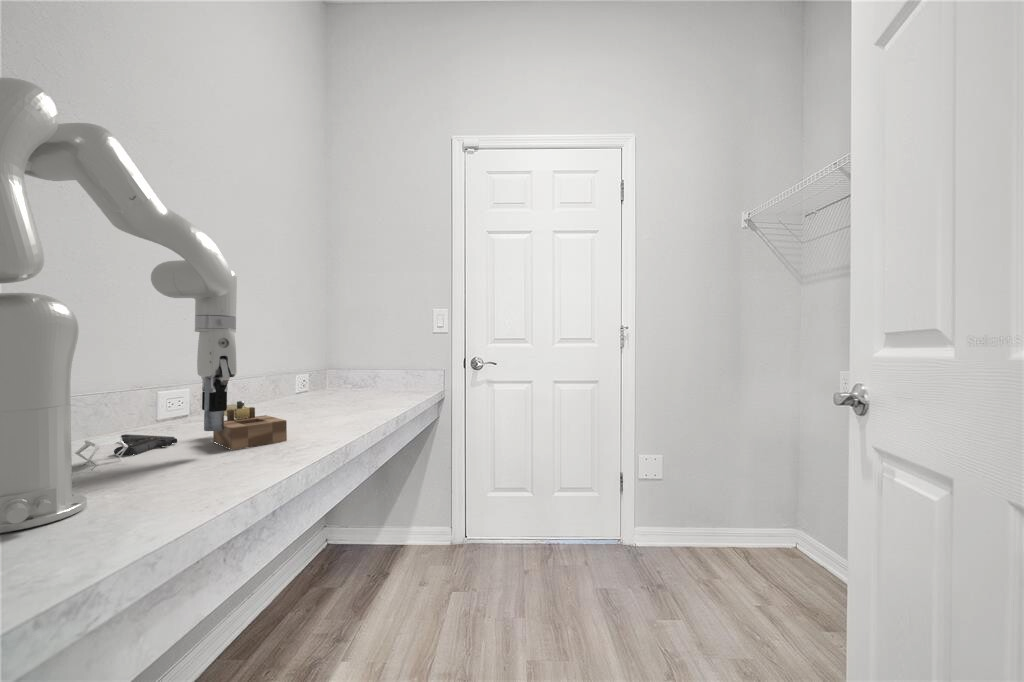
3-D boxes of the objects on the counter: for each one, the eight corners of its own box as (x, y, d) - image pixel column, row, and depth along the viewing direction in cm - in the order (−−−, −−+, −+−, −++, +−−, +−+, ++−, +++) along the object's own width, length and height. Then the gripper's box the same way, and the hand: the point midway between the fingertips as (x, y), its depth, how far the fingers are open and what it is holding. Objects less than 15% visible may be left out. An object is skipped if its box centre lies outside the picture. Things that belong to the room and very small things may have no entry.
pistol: (129, 446, 98) (185, 434, 110) (71, 443, 104) (129, 432, 116) (130, 458, 98) (185, 445, 110) (71, 454, 104) (129, 442, 116)
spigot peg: (226, 429, 99) (227, 373, 100) (207, 431, 96) (208, 374, 97) (220, 427, 101) (221, 373, 102) (201, 430, 99) (202, 373, 99)
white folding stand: (76, 462, 95) (76, 438, 95) (129, 455, 100) (128, 432, 100) (68, 475, 85) (68, 449, 85) (127, 467, 90) (127, 442, 90)
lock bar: (249, 417, 115) (249, 401, 115) (236, 418, 113) (236, 402, 113) (234, 413, 122) (234, 398, 122) (221, 414, 120) (221, 399, 120)
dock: (286, 440, 112) (286, 410, 112) (232, 450, 103) (231, 416, 103) (265, 434, 120) (265, 405, 120) (213, 442, 111) (212, 411, 111)
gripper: (249, 324, 97) (248, 411, 97) (221, 327, 108) (220, 406, 107) (209, 322, 91) (207, 415, 91) (183, 326, 102) (181, 409, 101)
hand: (214, 409), depth 99 cm, fingers closed on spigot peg, 3 cm apart
